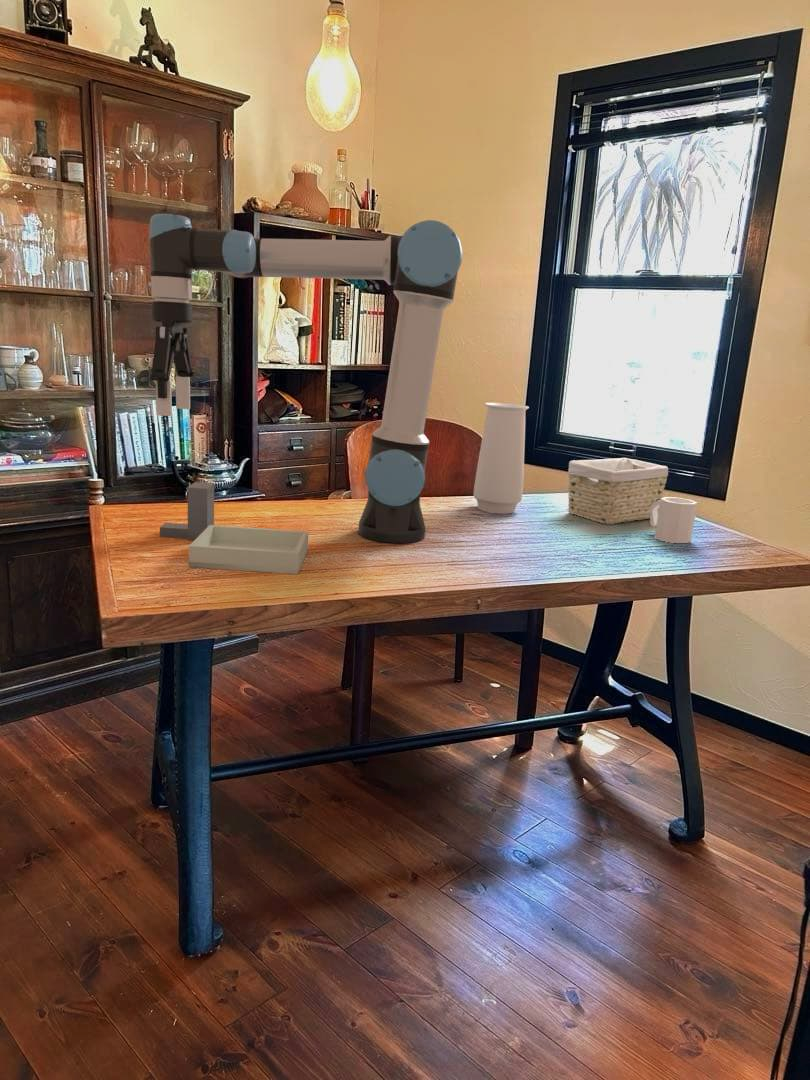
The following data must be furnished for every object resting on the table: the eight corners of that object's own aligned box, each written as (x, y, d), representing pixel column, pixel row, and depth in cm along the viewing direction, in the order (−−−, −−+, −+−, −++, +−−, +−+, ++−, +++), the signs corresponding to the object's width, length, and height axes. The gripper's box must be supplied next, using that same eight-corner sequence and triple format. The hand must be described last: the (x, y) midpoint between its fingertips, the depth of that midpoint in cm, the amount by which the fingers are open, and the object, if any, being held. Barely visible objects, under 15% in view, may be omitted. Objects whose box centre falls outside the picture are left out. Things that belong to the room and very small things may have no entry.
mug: (697, 542, 188) (704, 503, 185) (674, 545, 183) (681, 505, 181) (658, 530, 197) (664, 493, 195) (635, 533, 193) (641, 494, 190)
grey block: (213, 533, 164) (214, 483, 162) (207, 541, 159) (207, 488, 156) (166, 530, 164) (166, 480, 161) (158, 537, 158) (157, 485, 156)
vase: (473, 502, 215) (483, 401, 207) (520, 507, 213) (531, 405, 206) (470, 512, 202) (481, 405, 195) (520, 517, 201) (532, 409, 193)
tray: (307, 550, 157) (308, 531, 156) (297, 574, 142) (298, 553, 141) (209, 543, 157) (209, 524, 156) (188, 567, 141) (188, 546, 140)
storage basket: (605, 527, 197) (613, 470, 193) (559, 512, 210) (566, 459, 206) (663, 519, 211) (672, 466, 207) (617, 506, 223) (624, 456, 220)
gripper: (170, 302, 160) (172, 405, 166) (130, 297, 136) (134, 417, 142) (206, 304, 161) (207, 407, 166) (173, 299, 136) (175, 419, 142)
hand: (174, 412), depth 154 cm, fingers open, 13 cm apart
